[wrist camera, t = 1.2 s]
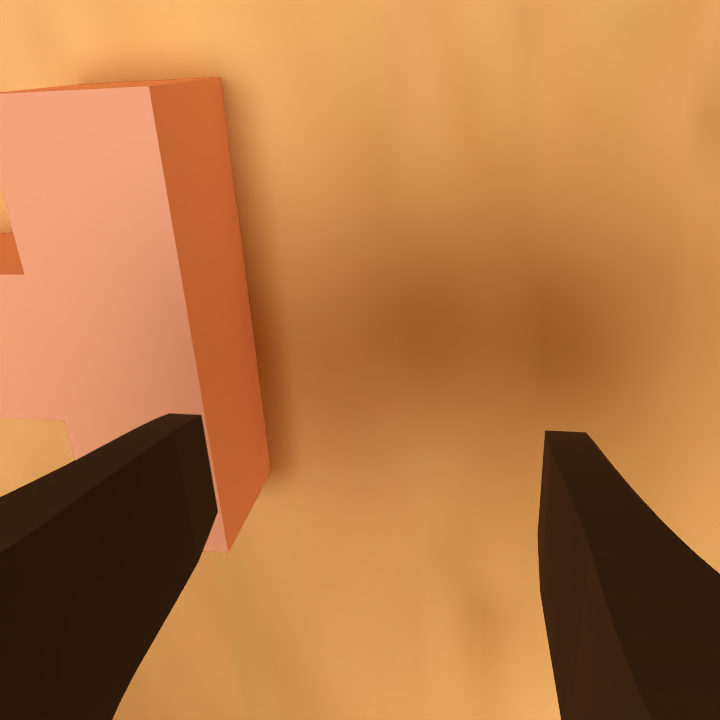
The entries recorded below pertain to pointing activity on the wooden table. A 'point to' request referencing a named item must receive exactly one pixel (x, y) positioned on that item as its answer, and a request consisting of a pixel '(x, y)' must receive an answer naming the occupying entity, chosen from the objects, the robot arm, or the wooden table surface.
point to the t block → (130, 274)
